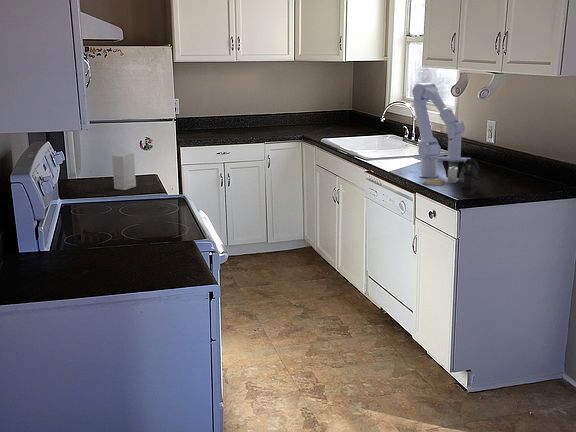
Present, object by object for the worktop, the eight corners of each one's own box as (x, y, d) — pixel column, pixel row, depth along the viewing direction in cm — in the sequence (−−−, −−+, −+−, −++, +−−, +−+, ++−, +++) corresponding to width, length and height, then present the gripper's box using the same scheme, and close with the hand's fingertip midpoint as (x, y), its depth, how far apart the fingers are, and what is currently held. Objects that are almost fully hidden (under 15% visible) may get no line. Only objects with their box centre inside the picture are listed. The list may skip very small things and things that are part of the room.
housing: (449, 179, 308) (449, 165, 306) (458, 180, 306) (458, 166, 304) (447, 182, 302) (448, 168, 301) (456, 182, 301) (456, 168, 299)
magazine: (460, 193, 272) (465, 158, 274) (466, 200, 283) (472, 167, 286) (469, 193, 270) (474, 158, 272) (475, 201, 282) (481, 167, 284)
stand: (426, 181, 305) (426, 177, 304) (443, 182, 302) (443, 179, 301) (423, 184, 297) (423, 181, 297) (440, 185, 295) (441, 182, 294)
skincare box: (126, 185, 304) (123, 152, 300) (137, 186, 301) (134, 153, 298) (113, 189, 297) (110, 154, 293) (124, 190, 294) (122, 155, 290)
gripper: (436, 148, 299) (435, 178, 303) (469, 150, 294) (468, 179, 298) (439, 146, 306) (438, 175, 309) (471, 147, 300) (469, 177, 304)
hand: (452, 177), depth 304 cm, fingers open, 4 cm apart
